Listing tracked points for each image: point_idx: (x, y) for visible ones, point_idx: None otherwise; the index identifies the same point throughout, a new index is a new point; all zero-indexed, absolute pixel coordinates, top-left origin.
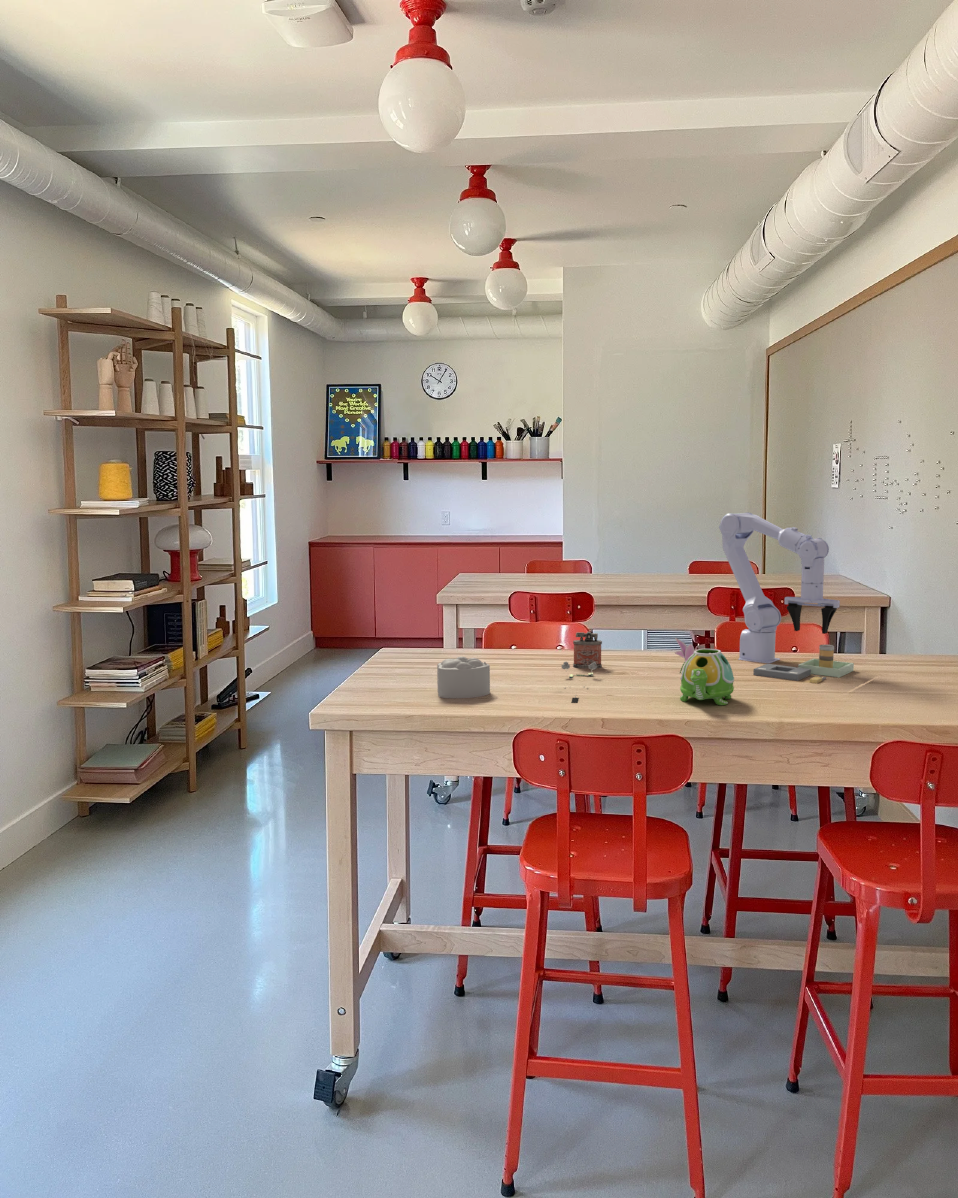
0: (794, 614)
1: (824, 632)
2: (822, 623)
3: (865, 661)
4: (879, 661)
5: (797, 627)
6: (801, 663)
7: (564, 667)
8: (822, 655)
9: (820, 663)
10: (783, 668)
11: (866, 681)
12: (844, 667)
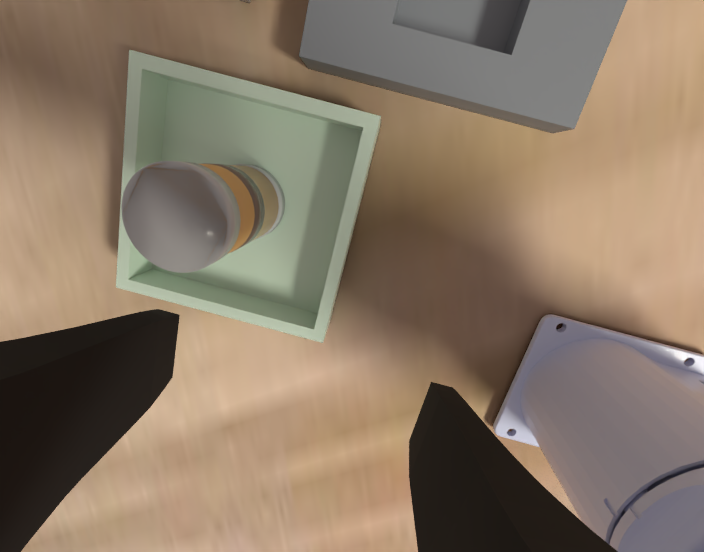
0: (530, 531)
1: (148, 312)
2: (91, 344)
3: (160, 506)
4: (117, 519)
5: (431, 418)
6: (366, 164)
7: None
8: (225, 170)
9: (257, 178)
10: (465, 45)
11: (37, 64)
12: (124, 141)
